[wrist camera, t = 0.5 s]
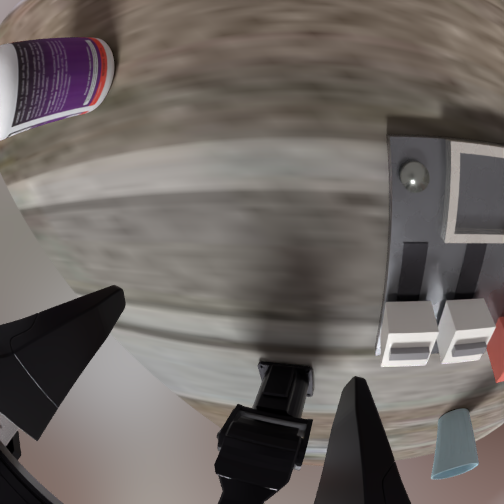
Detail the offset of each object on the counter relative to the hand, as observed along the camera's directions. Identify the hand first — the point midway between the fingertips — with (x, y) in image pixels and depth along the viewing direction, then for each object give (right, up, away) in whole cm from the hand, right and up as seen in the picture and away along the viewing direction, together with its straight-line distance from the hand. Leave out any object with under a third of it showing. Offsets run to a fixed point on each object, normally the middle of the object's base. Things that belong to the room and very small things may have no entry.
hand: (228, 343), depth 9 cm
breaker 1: (+14, -3, +11) cm, 18 cm away
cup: (+33, -23, +19) cm, 44 cm away
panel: (+21, +2, +7) cm, 22 cm away
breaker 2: (+19, -3, +9) cm, 21 cm away
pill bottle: (-15, +20, +10) cm, 27 cm away
